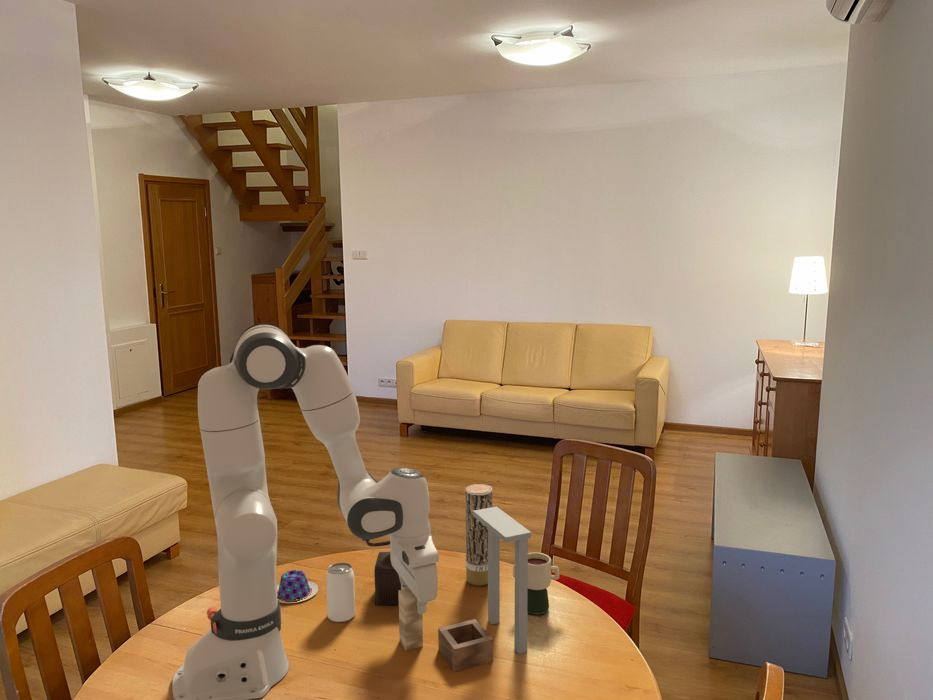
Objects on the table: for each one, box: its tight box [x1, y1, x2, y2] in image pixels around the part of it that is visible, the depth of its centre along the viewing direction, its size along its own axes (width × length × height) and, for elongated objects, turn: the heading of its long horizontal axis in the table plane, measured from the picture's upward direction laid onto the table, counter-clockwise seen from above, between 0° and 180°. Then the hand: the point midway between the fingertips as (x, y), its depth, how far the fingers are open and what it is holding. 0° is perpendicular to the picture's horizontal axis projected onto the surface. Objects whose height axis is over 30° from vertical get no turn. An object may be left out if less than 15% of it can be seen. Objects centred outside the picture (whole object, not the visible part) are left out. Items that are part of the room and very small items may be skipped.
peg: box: [398, 588, 424, 652], centre depth 153 cm, size 4×4×12 cm
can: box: [325, 562, 356, 623], centre depth 165 cm, size 6×6×12 cm
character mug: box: [512, 552, 560, 615], centre depth 167 cm, size 11×7×13 cm, turn 86°
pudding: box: [277, 569, 319, 604], centre depth 176 cm, size 12×12×5 cm
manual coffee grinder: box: [361, 539, 402, 607], centre depth 174 cm, size 16×11×18 cm
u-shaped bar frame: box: [473, 506, 532, 655], centre depth 154 cm, size 6×16×27 cm, turn 24°
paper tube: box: [465, 483, 493, 587], centre depth 180 cm, size 7×7×25 cm
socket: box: [437, 618, 494, 673], centre depth 149 cm, size 9×9×5 cm
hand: (413, 601), depth 152 cm, fingers open, 8 cm apart
